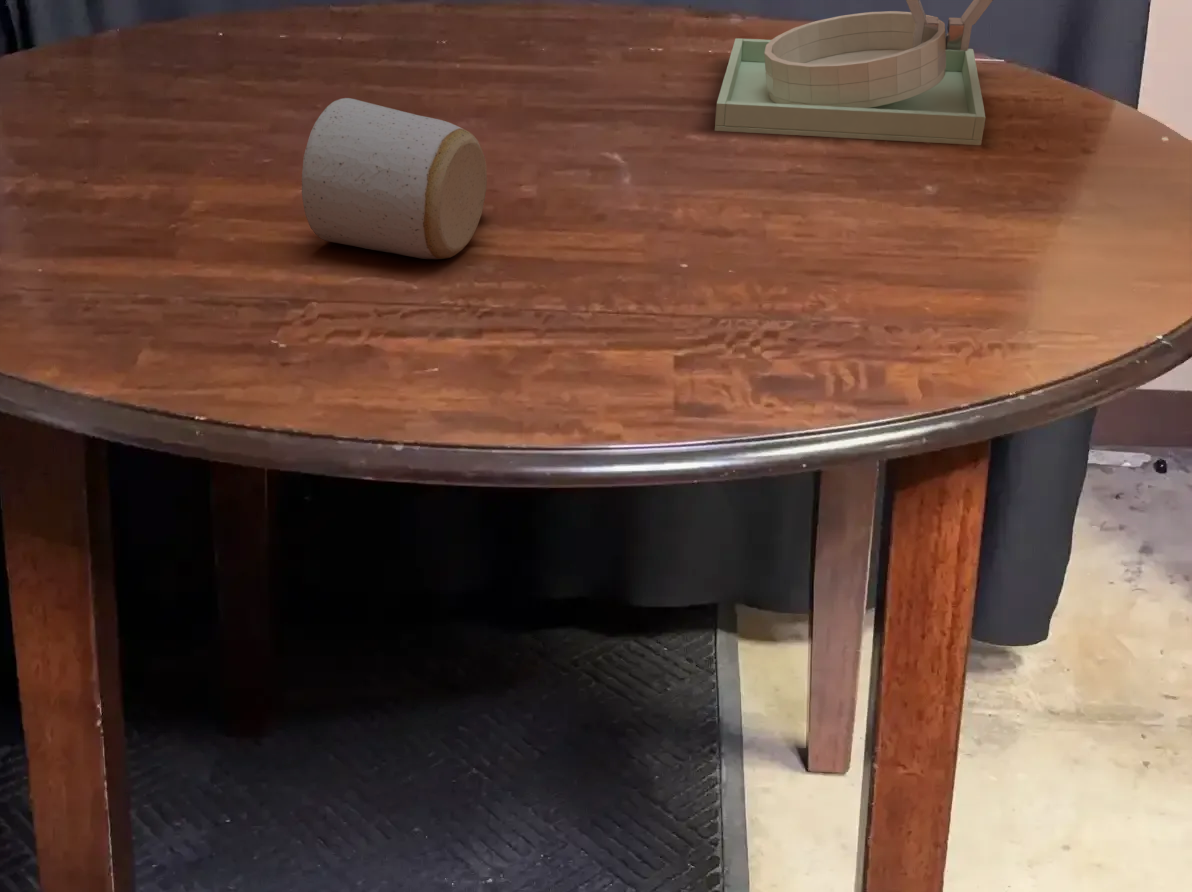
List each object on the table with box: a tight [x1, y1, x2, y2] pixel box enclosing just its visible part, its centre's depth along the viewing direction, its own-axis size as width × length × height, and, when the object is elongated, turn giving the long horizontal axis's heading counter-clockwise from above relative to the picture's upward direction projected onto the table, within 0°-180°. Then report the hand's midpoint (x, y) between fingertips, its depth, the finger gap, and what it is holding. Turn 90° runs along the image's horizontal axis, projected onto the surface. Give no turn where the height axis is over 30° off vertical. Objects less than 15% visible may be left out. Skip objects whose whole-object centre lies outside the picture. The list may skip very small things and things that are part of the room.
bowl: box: [764, 10, 947, 108], centre depth 104 cm, size 12×12×3 cm
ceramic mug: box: [301, 97, 488, 260], centre depth 83 cm, size 11×8×8 cm
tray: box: [714, 37, 987, 146], centre depth 105 cm, size 17×16×2 cm
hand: (939, 48), depth 102 cm, fingers closed on bowl
